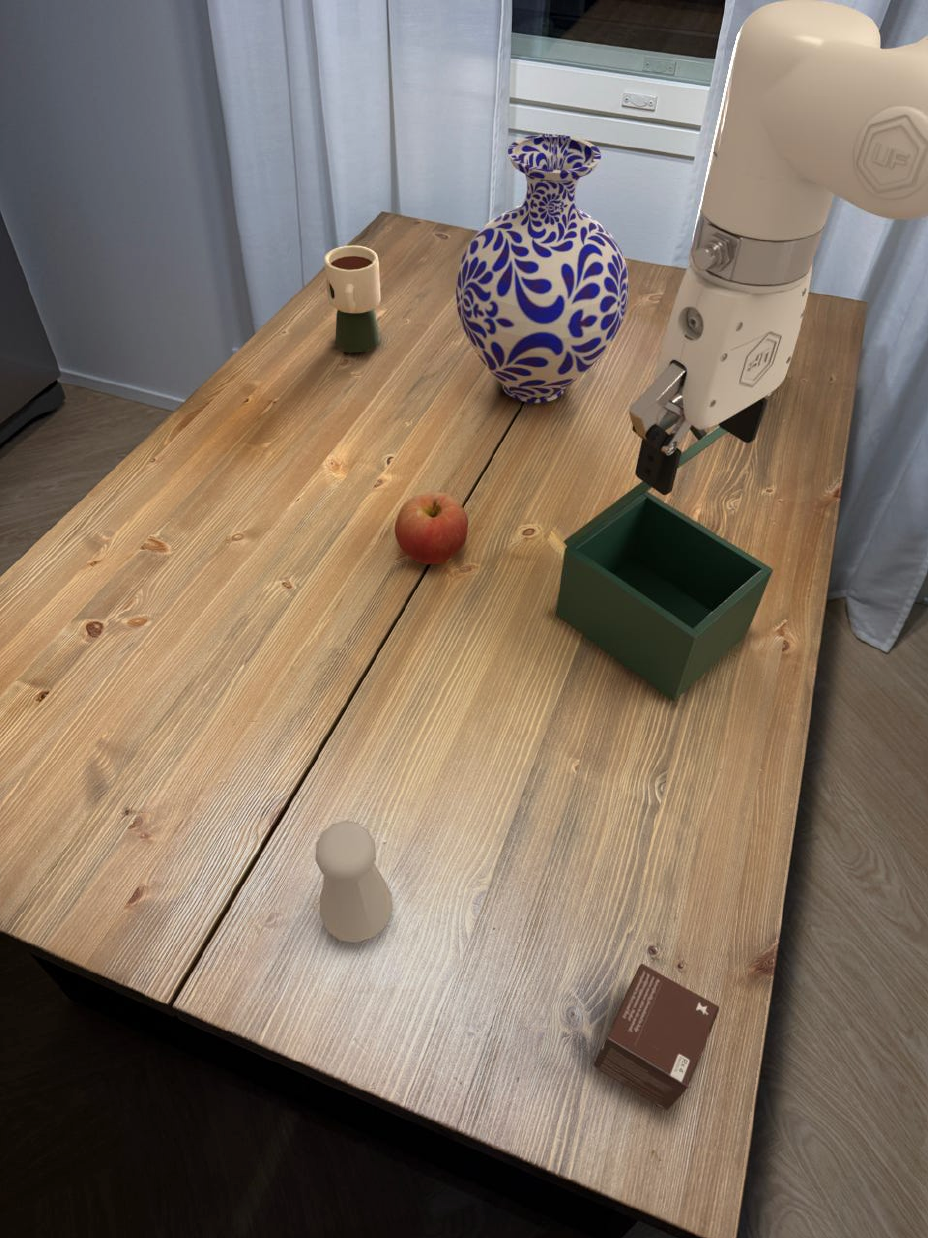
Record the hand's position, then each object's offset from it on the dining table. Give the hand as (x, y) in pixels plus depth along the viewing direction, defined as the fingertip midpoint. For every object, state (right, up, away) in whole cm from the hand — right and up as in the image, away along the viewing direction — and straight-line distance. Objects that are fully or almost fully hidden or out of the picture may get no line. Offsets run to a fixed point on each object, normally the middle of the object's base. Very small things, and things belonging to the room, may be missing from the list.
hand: (695, 458), depth 69 cm
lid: (0, 0, +13) cm, 13 cm away
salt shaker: (-26, -37, +4) cm, 45 cm away
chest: (+2, -13, +25) cm, 28 cm away
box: (-4, -45, -2) cm, 45 cm away
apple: (-21, -5, +32) cm, 38 cm away
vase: (-8, +20, +53) cm, 57 cm away
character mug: (-33, +27, +59) cm, 72 cm away
